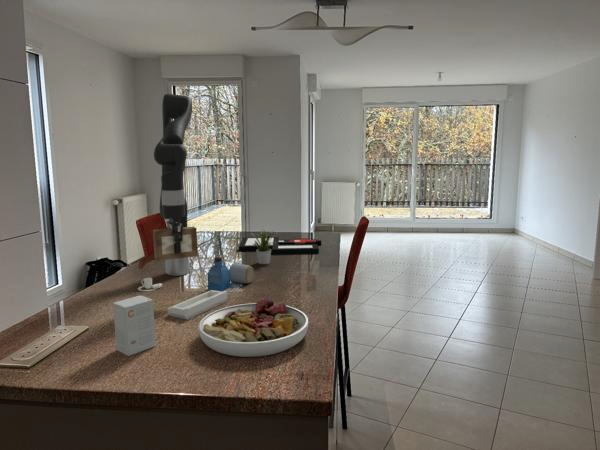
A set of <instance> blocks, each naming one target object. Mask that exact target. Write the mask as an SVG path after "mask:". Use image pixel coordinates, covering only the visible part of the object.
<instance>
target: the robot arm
mask: <svg viewBox="0 0 600 450" xmlns="http://www.w3.org/2000/svg"><path fill="white" fill-rule="evenodd" d="M161 107H162V109H161V110H162V138H161V139H160V141H158V143H157V144H156V145H155V148H154V151H153V157H154V158H153V159H154V161H155V163H157V164H158V165H160V166H161V177H160V179H161V181H160V182H161V187H160V196H159V197H160V198H159V214H160V217H161V218H162V219H163V220H168V221H166V228H165V229H171V236H173V242H174V253H175V254H179V253H181V242H182V241H183V227H188V202H187V199H186V197H185V192H184V172H185V169H186V162H187V157H188V156H187V155H188V152H187V148H186V146H185V145H184V140H185V135H186V134H185V133H186V130H187V128H188V126H189V124H190V121H191V118H192V116H193V115H192V113H193V101H192V98H191V97H190V96H186V95H182V94H181V95H180V94H173V93H172V94H171V93H165V94H164V95H163V97H162V106H161ZM173 232H174V233H175V234H174V233H173ZM177 236H179V238H177ZM164 266H165V274H167V275H168V276H172V277H174V276H175V277H177V276H184V275H188V274H190V257H185V258H177V259H168V260H164Z"/></svg>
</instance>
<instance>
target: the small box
mask: <svg viewBox="0 0 600 450" xmlns="http://www.w3.org/2000/svg"><path fill="white" fill-rule="evenodd" d="M112 308H113V309H112V311H113V321H114V333H115V344H116V351H118V352H120V353H122V354H124V355H126V356H127V357H130V356H133V355H136V354H138V353H141V352H143V351H146V350H148V349H151V348H154V347H156V346H157V341H156V340H157V339H156V336H157V335H156V325H155V312H154V311H155V310H154V299H152V298H149V297H147V296H144V295H137V296H133V297H128V298H125V299H122V300H118V301H115V302H112Z"/></svg>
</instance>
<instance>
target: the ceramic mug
mask: <svg viewBox="0 0 600 450" xmlns="http://www.w3.org/2000/svg"><path fill="white" fill-rule="evenodd" d="M228 269H229V271H230V283H238V284H250V283H252V281H253V280H254V276H255V272H254V271H255V270H254V268H253V266H251V265H248V264H243V263H237V262H234V263H232V264H231V265H230V267H229V268H228Z"/></svg>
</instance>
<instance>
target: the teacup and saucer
mask: <svg viewBox="0 0 600 450" xmlns="http://www.w3.org/2000/svg"><path fill="white" fill-rule="evenodd" d="M140 282H141V285H142V286H139V287H138V288H137V290H138V291H141V292H148V291H155V290H158V289H159V288H162V287H163V284H162V283H156V284H153V277H145V278H143V279H141V281H140ZM142 288H145V289H142Z"/></svg>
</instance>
